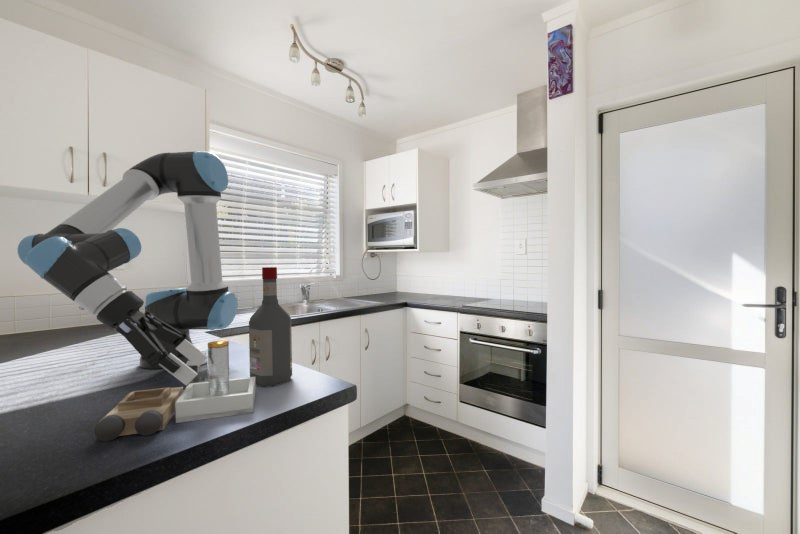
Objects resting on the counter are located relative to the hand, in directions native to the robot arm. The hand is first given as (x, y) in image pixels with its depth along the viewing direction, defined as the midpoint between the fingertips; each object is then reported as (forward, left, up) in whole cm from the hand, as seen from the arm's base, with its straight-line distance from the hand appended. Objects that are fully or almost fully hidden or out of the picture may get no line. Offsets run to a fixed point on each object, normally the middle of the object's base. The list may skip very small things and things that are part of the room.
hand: (198, 370), depth 78 cm
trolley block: (0, -10, -8) cm, 13 cm away
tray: (0, +4, -8) cm, 9 cm away
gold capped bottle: (0, +4, -7) cm, 8 cm away
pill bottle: (-18, -4, -9) cm, 20 cm away
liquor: (-15, +14, -9) cm, 22 cm away
